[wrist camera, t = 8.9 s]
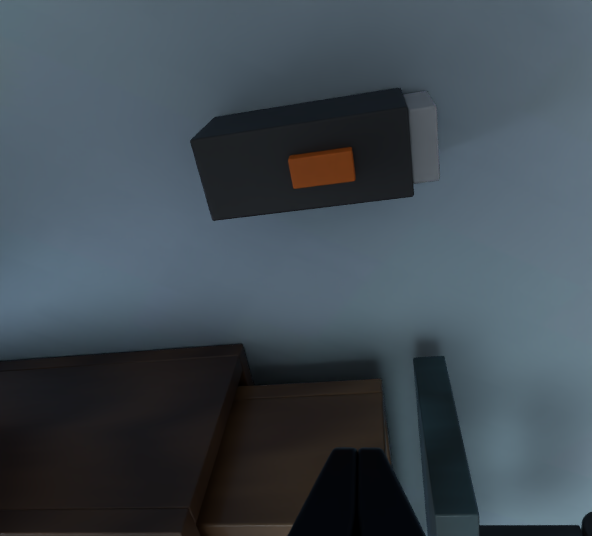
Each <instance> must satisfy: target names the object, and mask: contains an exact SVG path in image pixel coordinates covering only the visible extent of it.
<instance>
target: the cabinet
mask: <svg viewBox="0 0 592 536" xmlns="http://www.w3.org/2000/svg"><path fill="white" fill-rule="evenodd" d="M239 386H254V383H253V380H252V376H251V373H250V369H249V366H248V362H247V359H246V355H245V352H244V348H243V345H242V344H235V345H221V346H207V347H193V348H179V349H165V350H152V351H138V352H124V353H110V354H96V355H82V356H68V357H55V358H41V359H27V360H13V361H0V536H200V533H199V531H198V529H197V526H196V524H195V523H196V522H197V519H198V515H199V512H200V509H201V505H202V502H203V499H204V496H205V492H206V489H207V486H208V482H209V479H210V476H211V473H212V469H213V466H214V463H215V459H216V456H217V453H218V449H219V446H220V443H221V440H222V436H223V433H224V430H225V426H226V423H227V420H228V417H229V413H230V410H231V407H232V403H233V400H234V397H235V394H236V390H237V387H239Z"/></svg>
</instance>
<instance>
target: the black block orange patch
mask: <svg viewBox="0 0 592 536" xmlns="http://www.w3.org/2000/svg"><path fill="white" fill-rule="evenodd" d="M190 142H191V146H192V149H193V153H194V157H195V160H196V164H197V167H198V171H199V175H200V178H201V182H202V185H203V189H204V192H205V196H206V200H207V203H208V207H209V210H210V214H211V217H212V220H213V221H216V220H224V219H232V218H240V217H249V216H257V215H265V214H273V213H282V212H290V211H298V210H306V209H315V208H323V207H331V206H339V205H348V204H356V203H364V202H373V201H381V200H389V199H397V198H406V197H412V196H413V195H414V187H413V183H414V184H416V183H423V182H431V181H438V180H439V179H440V172H439V147H438V123H437V107H436V105H435V103H434V102H433V100H432V98H431V96H430V95H429V93H428V91H421V92H415V93H409V94H404V95H403V93H402V90H401V88H394V89H388V90H381V91H375V92H369V93H363V94H357V95H350V96H344V97H338V98H332V99H325V100H319V101H313V102H307V103H300V104H294V105H288V106H282V107H276V108H269V109H263V110H257V111H251V112H244V113H238V114H232V115H226V116H219V117H215V118H213V119H212V120H211V121H210V122H209V123H208V124H207V125H206V126H205V127H204V128H203V129H202V130H201V131H200V132H198V133H197V134H196V135H195V136H194V137H193V138H192V139H191V141H190Z"/></svg>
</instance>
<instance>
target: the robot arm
mask: <svg viewBox="0 0 592 536" xmlns="http://www.w3.org/2000/svg"><path fill="white" fill-rule="evenodd" d="M287 536H426V535H425V533H424V531H423V529H422V527H421V525H420V523H419V521H418V519H417V517H416V515H415V513H414V511H413V509H412V507H411V505H410V503H409V501H408V499H407V497H406V495H405V493H404V491H403V489H402V487H401V485H400V483H399V481H398V479H397V477H396V475H395V473H394V471H393V469H392V467H391V465H390V463H389V461H388V459H387V457H386V455H385V453H384V451H383V450H382V449H381V448H366V447H362V448H360V449H359V450H358V451H357V449H355V448H353V447H337V448H334V449H333V450H332V451H331V453H330V455H329V457H328V459H327V461H326V463H325V465H324V466H323V468H322V470H321V472H320V474H319V476H318V478H317V480H316V482H315V484H314V486H313V488H312V489H311V491H310V493H309V495H308V497H307V499H306V501H305V503H304V505H303V507H302V509H301V511H300V512H299V514H298V516H297V518H296V520H295V522H294V524H293V526H292V528H291V530H290V532H289V534H288V535H287Z"/></svg>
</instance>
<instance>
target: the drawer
mask: <svg viewBox="0 0 592 536" xmlns="http://www.w3.org/2000/svg"><path fill="white" fill-rule="evenodd" d="M413 363H414V375H415V387H416V399H417V412H418V424H419V436H420V448H421V460H422V473H423V485H424V497H425V509H426V522H427V534H428V536H592V512H590V513H588V514H587V515H585V517H584V518H583V520H582V525H581V529H580V526H579V525H479V512H478V507H477V503H476V498H475V493H474V489H473V484H472V480H471V475H470V471H469V466H468V462H467V457H466V452H465V448H464V443H463V439H462V434H461V430H460V425H459V421H458V416H457V412H456V407H455V402H454V398H453V393H452V389H451V384H450V380H449V375H448V371H447V366H446V361H445V357H444V356H434V357H418V358H414V359H413ZM337 447H353V448H355V449H357V451H358V450H359V449H360V448H362V447H366V448H381V449H382V450H383V451H384V453H385V455H386V457H387V459H388V461H389V463H390V465H391V467H392V458H391V450H390V442H389V434H388V426H387V418H386V410H385V402H384V393H383V385H382V380H381V379H364V380H346V381H328V382H310V383H292V384H275V385H257V386H239V387H237V390H236V394H235V397H234V400H233V403H232V407H231V410H230V413H229V417H228V420H227V423H226V426H225V430H224V433H223V436H222V440H221V443H220V446H219V449H218V453H217V456H216V459H215V463H214V466H213V469H212V473H211V476H210V479H209V482H208V486H207V489H206V492H205V496H204V499H203V502H202V505H201V509H200V512H199V515H198V519H197V522H196V523H195V524H196V526H197V529H198V531H199V533H200V536H287V535H288V534H289V532H290V530H291V528H292V526H293V524H294V522H295V520H296V518H297V516H298V514H299V512H300V511H301V509H302V507H303V505H304V503H305V501H306V499H307V497H308V495H309V493H310V491H311V489H312V488H313V486H314V484H315V482H316V480H317V478H318V476H319V474H320V472H321V470H322V468H323V466H324V465H325V463H326V461H327V459H328V457H329V455H330V453H331V451H332V450H333V449H334V448H337ZM392 469H393V467H392Z"/></svg>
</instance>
